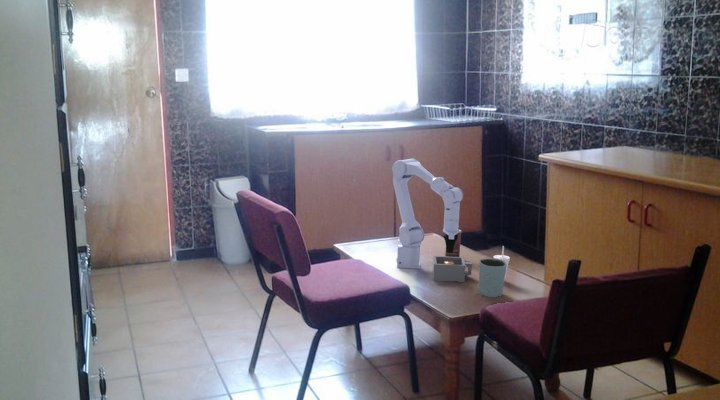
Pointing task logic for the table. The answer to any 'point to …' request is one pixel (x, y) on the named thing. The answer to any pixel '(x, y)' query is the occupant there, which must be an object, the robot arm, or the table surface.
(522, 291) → the table surface
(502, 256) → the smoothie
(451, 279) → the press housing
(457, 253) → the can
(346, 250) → the table surface
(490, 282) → the teal plant pot
